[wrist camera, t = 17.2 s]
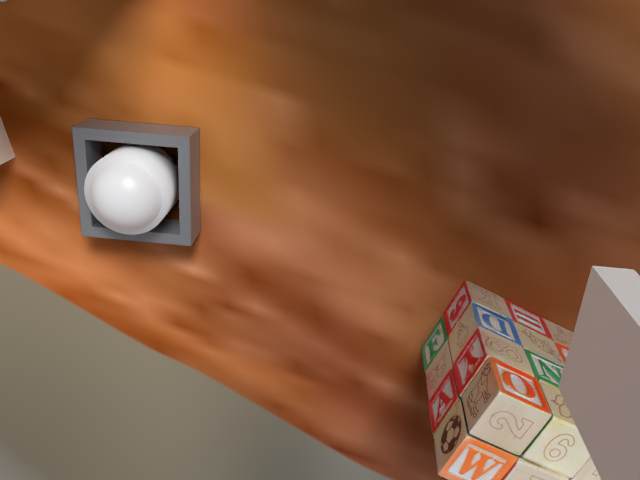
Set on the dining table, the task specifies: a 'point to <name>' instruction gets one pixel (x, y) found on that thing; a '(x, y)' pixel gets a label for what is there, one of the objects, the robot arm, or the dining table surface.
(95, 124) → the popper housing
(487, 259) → the dining table surface
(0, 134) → the die
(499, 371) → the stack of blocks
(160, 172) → the dome
